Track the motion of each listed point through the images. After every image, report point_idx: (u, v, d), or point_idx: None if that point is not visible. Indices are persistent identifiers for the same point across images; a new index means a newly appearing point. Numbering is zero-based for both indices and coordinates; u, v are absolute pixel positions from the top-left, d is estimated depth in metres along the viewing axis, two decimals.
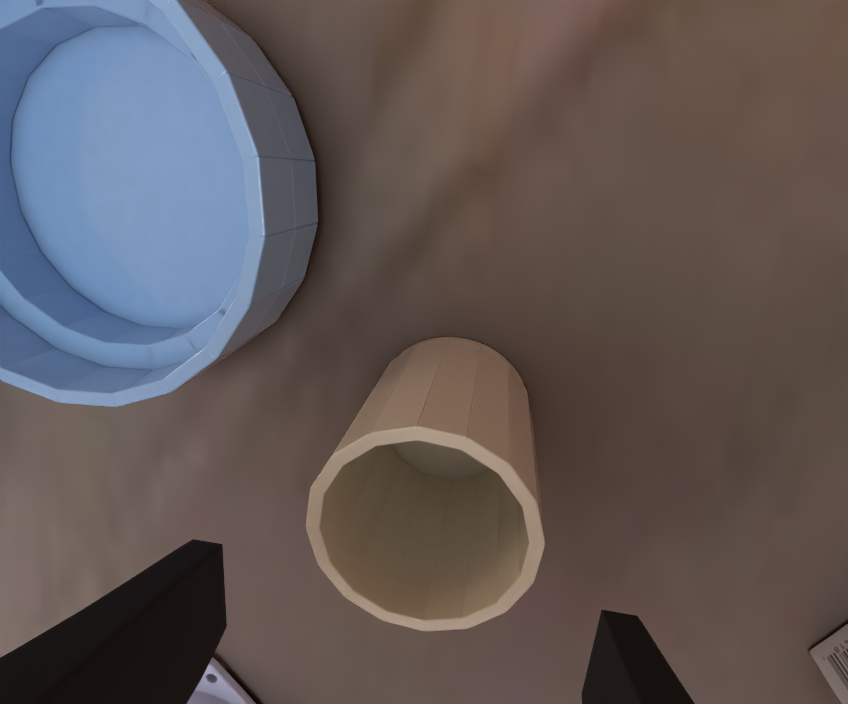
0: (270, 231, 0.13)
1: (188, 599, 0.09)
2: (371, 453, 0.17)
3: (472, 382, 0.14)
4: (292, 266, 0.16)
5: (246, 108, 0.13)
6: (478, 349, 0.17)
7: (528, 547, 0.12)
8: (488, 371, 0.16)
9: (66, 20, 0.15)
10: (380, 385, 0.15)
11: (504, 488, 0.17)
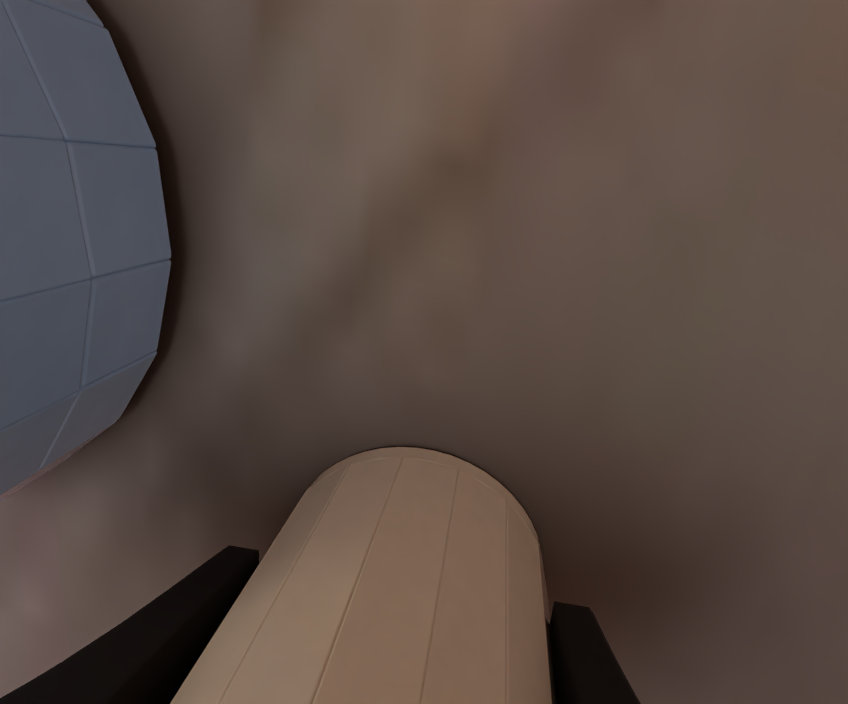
0: None
1: (228, 607, 0.09)
2: None
3: (431, 598, 0.07)
4: (108, 343, 0.09)
5: None
6: (453, 479, 0.10)
7: None
8: (466, 543, 0.08)
9: None
10: (262, 572, 0.08)
11: None
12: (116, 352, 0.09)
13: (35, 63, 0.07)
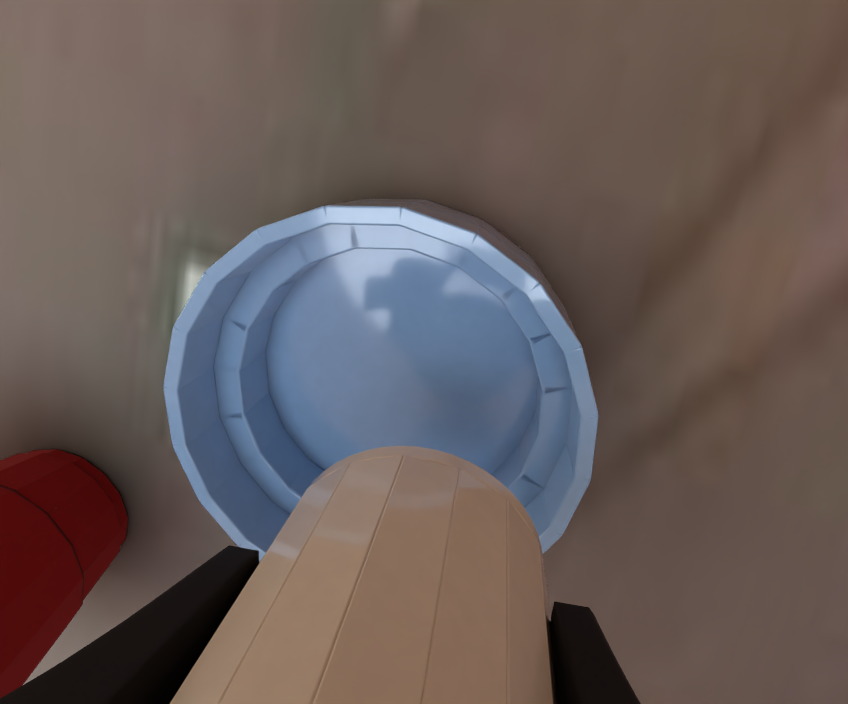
0: None
1: (228, 606, 0.09)
2: None
3: (432, 597, 0.07)
4: None
5: None
6: (454, 478, 0.10)
7: None
8: (467, 541, 0.08)
9: None
10: (263, 571, 0.08)
11: None
12: None
13: None
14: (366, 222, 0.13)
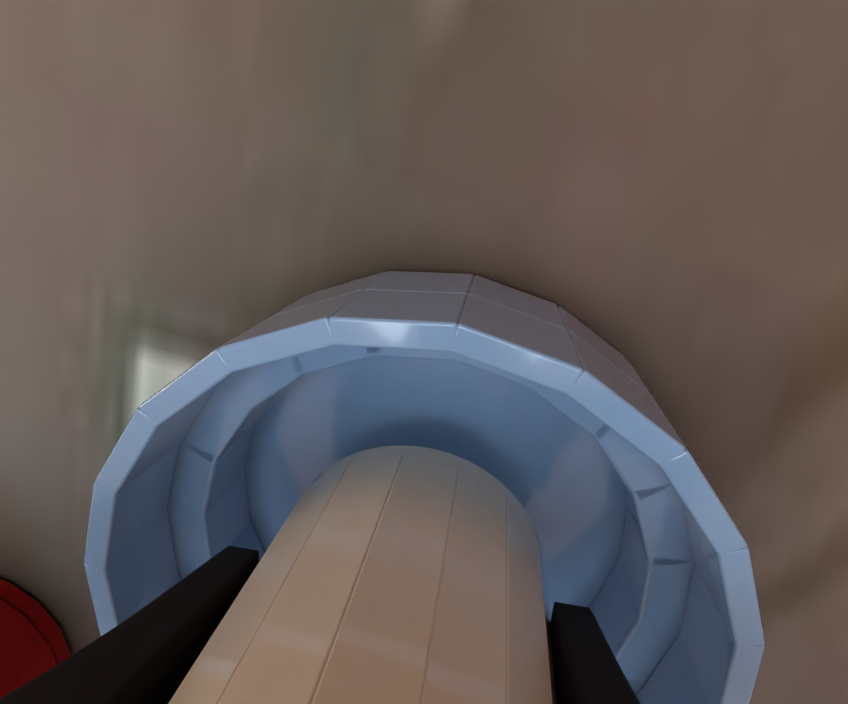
0: None
1: (228, 606, 0.09)
2: None
3: (431, 596, 0.07)
4: None
5: None
6: (453, 477, 0.10)
7: None
8: (467, 540, 0.08)
9: None
10: (262, 570, 0.08)
11: None
12: None
13: None
14: (397, 345, 0.08)
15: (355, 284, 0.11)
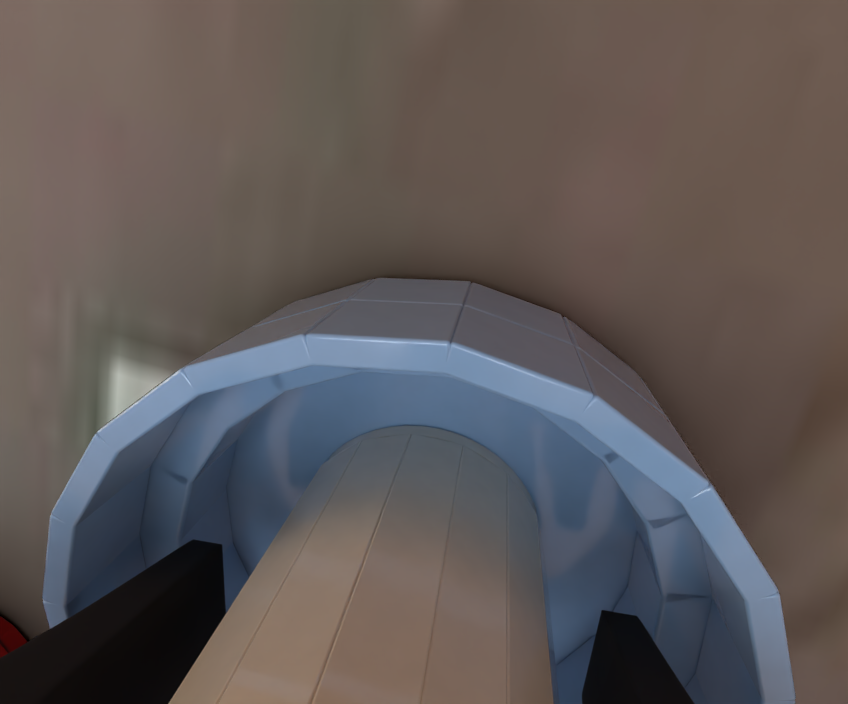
0: None
1: (188, 599, 0.09)
2: None
3: (440, 552, 0.08)
4: None
5: None
6: (458, 453, 0.11)
7: None
8: (471, 507, 0.09)
9: None
10: (285, 534, 0.09)
11: None
12: None
13: None
14: (383, 366, 0.07)
15: (341, 293, 0.10)
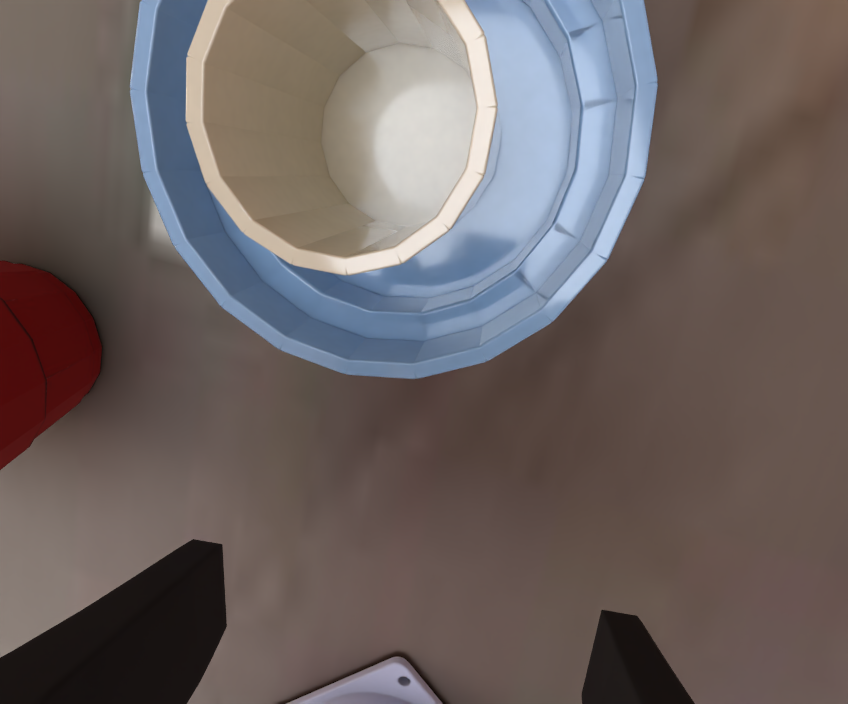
0: None
1: (188, 599, 0.09)
2: (303, 159, 0.14)
3: None
4: None
5: None
6: None
7: (476, 117, 0.09)
8: None
9: None
10: None
11: None
12: None
13: None
14: None
15: None
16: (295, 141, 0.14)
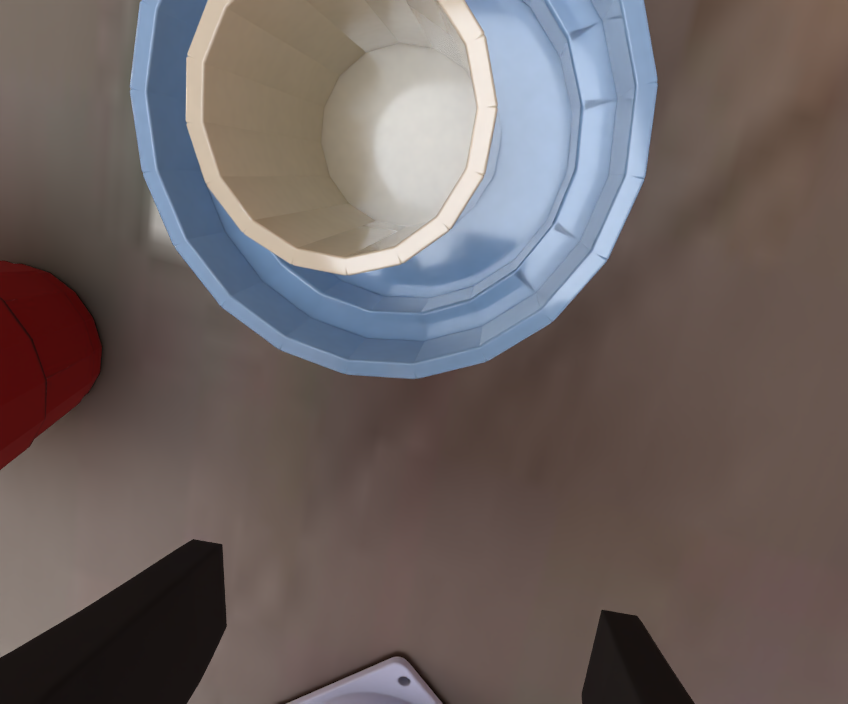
0: None
1: (188, 599, 0.09)
2: (303, 159, 0.14)
3: None
4: None
5: None
6: None
7: (476, 117, 0.09)
8: None
9: None
10: None
11: None
12: None
13: None
14: None
15: None
16: (295, 141, 0.14)
